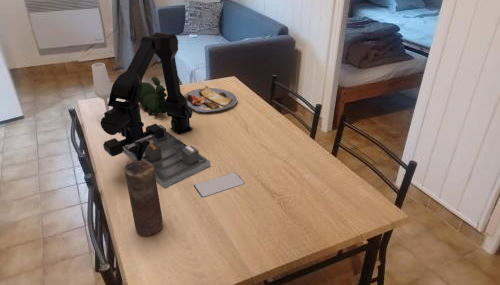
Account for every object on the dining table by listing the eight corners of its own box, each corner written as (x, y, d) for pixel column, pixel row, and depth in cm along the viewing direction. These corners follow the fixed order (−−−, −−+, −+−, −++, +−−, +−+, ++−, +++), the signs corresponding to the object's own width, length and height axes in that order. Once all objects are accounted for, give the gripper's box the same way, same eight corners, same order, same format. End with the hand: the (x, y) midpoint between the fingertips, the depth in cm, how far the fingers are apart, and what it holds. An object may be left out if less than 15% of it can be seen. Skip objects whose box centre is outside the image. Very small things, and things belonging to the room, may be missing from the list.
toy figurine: (174, 120, 157) (148, 96, 172) (172, 80, 146) (144, 58, 162) (154, 126, 152) (129, 101, 167) (150, 85, 141) (123, 62, 156)
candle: (138, 217, 103) (127, 158, 93) (164, 216, 104) (156, 157, 94) (133, 237, 97) (120, 176, 86) (161, 236, 97) (152, 175, 87)
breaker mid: (155, 153, 128) (154, 141, 125) (161, 158, 125) (160, 145, 122) (145, 158, 125) (143, 145, 123) (151, 163, 123) (149, 149, 120)
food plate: (172, 100, 170) (172, 93, 168) (212, 88, 184) (212, 81, 182) (205, 120, 155) (205, 113, 153) (246, 105, 169) (246, 98, 167)
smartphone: (193, 185, 116) (235, 171, 123) (193, 186, 116) (235, 173, 123) (201, 197, 111) (245, 183, 117) (201, 198, 111) (245, 184, 118)
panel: (166, 135, 143) (165, 129, 141) (210, 166, 125) (209, 159, 124) (123, 151, 132) (121, 145, 131) (164, 188, 115) (163, 180, 113)
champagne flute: (117, 115, 156) (107, 61, 144) (118, 122, 151) (107, 66, 138) (101, 118, 154) (88, 63, 142) (101, 125, 149) (88, 68, 136)
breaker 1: (161, 135, 139) (160, 122, 136) (167, 139, 136) (165, 126, 134) (152, 138, 136) (150, 126, 134) (157, 142, 134) (156, 130, 131)
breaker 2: (192, 156, 126) (191, 144, 124) (199, 161, 124) (198, 148, 121) (182, 161, 124) (181, 148, 121) (189, 166, 121) (188, 153, 119)
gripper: (145, 102, 124) (151, 141, 132) (91, 119, 113) (101, 161, 121) (163, 113, 117) (168, 154, 125) (106, 133, 106) (116, 176, 114)
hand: (139, 161), depth 122 cm, fingers closed
